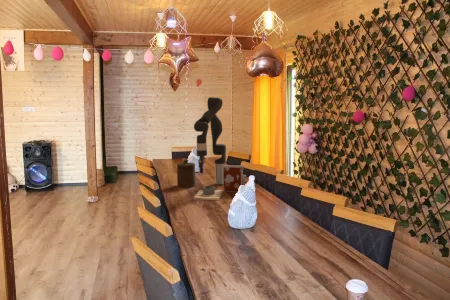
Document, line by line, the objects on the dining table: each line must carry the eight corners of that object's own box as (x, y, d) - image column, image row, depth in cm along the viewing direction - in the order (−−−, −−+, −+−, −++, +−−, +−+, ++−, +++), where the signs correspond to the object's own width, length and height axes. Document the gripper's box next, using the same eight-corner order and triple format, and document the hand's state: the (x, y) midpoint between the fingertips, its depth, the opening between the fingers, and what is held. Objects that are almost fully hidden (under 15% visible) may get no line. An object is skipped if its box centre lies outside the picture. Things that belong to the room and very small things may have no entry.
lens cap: (199, 174, 299) (199, 163, 298) (205, 174, 299) (205, 163, 298) (198, 175, 295) (198, 164, 294) (204, 175, 294) (204, 164, 293)
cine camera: (248, 193, 304) (248, 166, 302) (222, 192, 308) (222, 166, 306) (249, 190, 313) (249, 164, 311) (225, 189, 317) (225, 164, 314)
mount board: (199, 191, 310) (199, 189, 310) (222, 192, 308) (222, 190, 308) (193, 199, 286) (193, 197, 286) (218, 200, 284) (218, 197, 284)
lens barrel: (204, 192, 301) (203, 185, 301) (215, 192, 300) (215, 185, 300) (202, 195, 293) (202, 188, 292) (213, 195, 292) (213, 188, 292)
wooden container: (193, 183, 342) (192, 157, 340) (197, 186, 328) (196, 160, 325) (176, 184, 338) (175, 158, 336) (179, 188, 324) (178, 161, 321)
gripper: (198, 148, 302) (199, 170, 304) (194, 150, 288) (195, 174, 290) (208, 148, 301) (209, 170, 303) (204, 150, 287) (205, 174, 289)
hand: (202, 172), depth 296 cm, fingers closed on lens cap, 4 cm apart
